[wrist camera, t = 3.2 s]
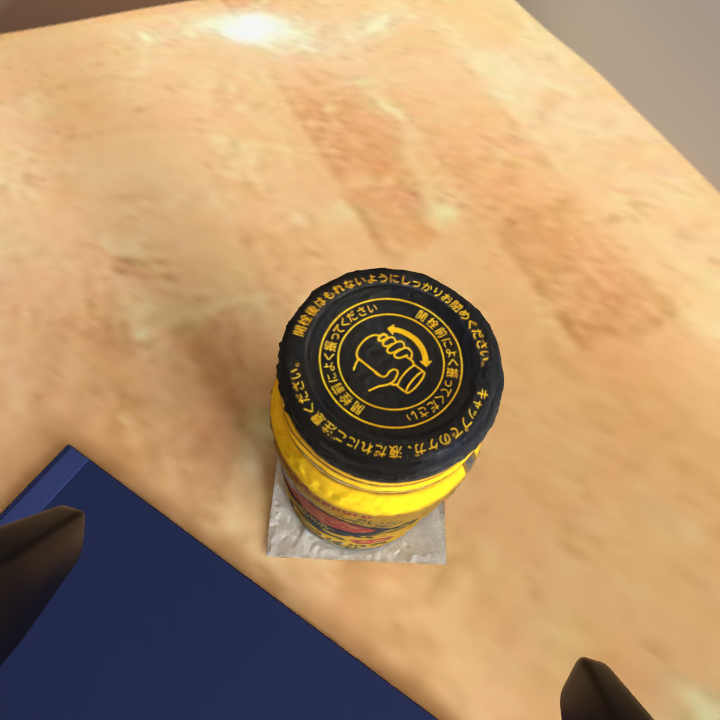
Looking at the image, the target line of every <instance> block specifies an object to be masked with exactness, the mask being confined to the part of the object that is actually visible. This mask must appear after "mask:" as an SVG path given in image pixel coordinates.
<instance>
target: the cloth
mask: <svg viewBox="0 0 720 720" xmlns="http://www.w3.org/2000/svg"><path fill="white" fill-rule="evenodd" d="M61 505H63V506H68V507H71V508H75V509H78V510H81V511H82V512H83V513H84V515H85V525H84V539H83V549H82V552H81V555H80V557H79V559H78V561H77V563H76V564H75V565H74V567H73V568H72V570H71V571H70V573H69V574H68V576H67V577H66V578H65V580H64V581H63V583H62V584H61V586H60V587H59V588H58V590H57V591H56V593H55V594H54V596H53V597H52V599H51V600H50V601H49V603H48V604H47V606H46V607H45V609H44V610H43V611H42V613H41V614H40V616H39V617H38V619H37V620H36V622H35V623H34V624H33V626H32V627H31V629H30V630H29V631H28V633H27V634H26V635H25V637H24V638H23V640H22V641H21V642H20V643H19V645H18V646H17V647H16V648H15V650H14V651H13V652H12V653H11V655H10V656H9V657H8V658H7V659H6V661H5V662H4V663H3V664H2V665H1V667H0V720H438V719H437V718H435V717H434V716H433V715H431V714H430V713H429V712H427V711H426V710H425V709H423V708H422V707H420V706H419V705H418V704H416V703H415V702H414V701H412V700H411V699H410V698H408V697H407V696H406V695H404V694H403V693H402V692H400V691H399V690H398V689H396V688H395V687H394V686H392V685H391V684H390V683H388V682H387V681H386V680H384V679H383V678H382V677H380V676H379V675H378V674H376V673H375V672H374V671H372V670H371V669H370V668H368V667H367V666H366V665H364V664H363V663H362V662H360V661H359V660H358V659H356V658H355V657H354V656H352V655H351V654H349V653H348V652H347V651H345V650H344V649H343V648H341V647H340V646H339V645H337V644H336V643H335V642H333V641H332V640H331V639H329V638H328V637H327V636H325V635H324V634H323V633H321V632H320V631H319V630H317V629H316V628H315V627H313V626H312V625H311V624H309V623H308V622H307V621H305V620H304V619H303V618H301V617H300V616H299V615H297V614H296V613H295V612H293V611H292V610H291V609H289V608H288V607H287V606H285V605H284V604H283V603H281V602H280V601H278V600H277V599H276V598H274V597H273V596H272V595H270V594H269V593H268V592H266V591H265V590H264V589H262V588H261V587H260V586H258V585H257V584H256V583H254V582H253V581H252V580H250V579H249V578H248V577H246V576H245V575H244V574H242V573H241V572H240V571H238V570H237V569H236V568H234V567H233V566H232V565H230V564H229V563H228V562H226V561H225V560H224V559H222V558H221V557H220V556H218V555H217V554H216V553H214V552H213V551H211V550H210V549H209V548H207V547H206V546H205V545H203V544H202V543H201V542H199V541H198V540H197V539H195V538H194V537H193V536H191V535H190V534H189V533H187V532H186V531H185V530H183V529H182V528H181V527H179V526H178V525H177V524H175V523H174V522H173V521H171V520H170V519H169V518H167V517H166V516H165V515H163V514H162V513H161V512H159V511H158V510H157V509H155V508H154V507H153V506H151V505H150V504H149V503H147V502H146V501H145V500H143V499H142V498H140V497H139V496H138V495H136V494H135V493H134V492H132V491H131V490H130V489H128V488H127V487H126V486H124V485H123V484H122V483H120V482H119V481H118V480H116V479H115V478H114V477H112V476H111V475H110V474H108V473H107V472H106V471H104V470H103V469H102V468H100V467H99V466H98V465H96V464H95V463H94V462H92V461H91V460H90V459H88V458H87V457H86V456H84V455H83V454H82V453H80V452H79V451H78V450H76V449H75V448H74V447H72V446H71V445H67V446H66V447H65V448H64V449H63V450H62V451H61V452H60V453H59V454H58V455H57V456H56V457H55V458H54V459H53V461H52V462H51V463H50V464H49V465H48V466H47V467H46V468H45V469H44V470H43V471H42V472H41V473H40V474H39V475H38V476H37V477H36V478H35V479H34V480H33V481H32V482H31V483H30V484H29V485H28V486H27V487H26V488H25V489H24V490H23V491H22V493H21V494H20V495H19V496H18V497H17V498H16V499H15V500H14V501H13V502H12V503H11V504H10V505H9V506H8V507H7V508H6V509H5V510H4V511H3V512H2V513H1V514H0V526H3V525H6V524H9V523H11V522H14V521H17V520H20V519H23V518H25V517H28V516H31V515H34V514H37V513H40V512H42V511H45V510H48V509H51V508H54V507H57V506H61Z"/></svg>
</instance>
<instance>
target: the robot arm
mask: <svg viewBox="0 0 720 720" xmlns="http://www.w3.org/2000/svg"><path fill="white" fill-rule="evenodd" d="M84 525H85V515H84V513H83V512H82V511H81V510H78V509H75V508H71V507H68V506H63V505H61V506H57V507H54V508H51V509H48V510H45V511H42V512H40V513H37V514H34V515H31V516H28V517H25V518H23V519H20V520H17V521H14V522H11V523H9V524H6V525H3V526H0V667H1V665H2V664H3V663H4V662H5V661H6V659H7V658H8V657H9V656H10V655H11V653H12V652H13V651H14V650H15V648H16V647H17V646H18V645H19V643H20V642H21V641H22V640H23V638H24V637H25V635H26V634H27V633H28V631H29V630H30V629H31V627H32V626H33V624H34V623H35V622H36V620H37V619H38V617H39V616H40V614H41V613H42V611H43V610H44V609H45V607H46V606H47V604H48V603H49V601H50V600H51V599H52V597H53V596H54V594H55V593H56V591H57V590H58V588H59V587H60V586H61V584H62V583H63V581H64V580H65V578H66V577H67V576H68V574H69V573H70V571H71V570H72V568H73V567H74V565H75V564H76V563H77V561H78V559H79V557H80V555H81V552H82V549H83V539H84ZM560 708H561V718H562V720H654V719H653V718H652V717H651V715H650V714H649V713H648V712H647V711H646V710H645V708H644V707H643V706H642V705H641V704H640V703H639V701H638V700H637V699H636V698H635V697H634V696H633V695H632V693H631V692H630V691H629V690H628V689H627V688H626V686H625V685H624V684H623V683H622V682H621V681H620V679H619V678H618V677H617V676H616V675H615V674H614V672H613V671H612V670H611V669H610V668H609V667H608V666H607V665H606V664H604V663H602V662H599V661H596V660H593V659H589V658H586V657H581V658H580V659H578V660H577V662H576V663H575V665H574V667H573V669H572V671H571V673H570V675H569V677H568V679H567V681H566V683H565V685H564V687H563V689H562V692H561V697H560Z"/></svg>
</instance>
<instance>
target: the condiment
mask: <svg viewBox="0 0 720 720" xmlns="http://www.w3.org/2000/svg"><path fill="white" fill-rule="evenodd" d="M279 347H280V350H279V353H278V358H279V362H278V364H277V366H276V368H277V374H276V379H275V381H274V384H273V388H272V391H271V394H272V395H271V405H270V427H271V429H272V432H273V435H274V444H275V446H276V452H277V462H276V471H275V480H274V489H273V498H272V507H271V515H270V524H269V533H268V542H267V550H266V556H273V557H294V558H313V559H333V560H354V561H376V562H399V563H422V564H443V565H446V541H445V519H444V500H446V499H447V498H448V497H449V496H450V495H451V494H453V493H454V491H455V489H456V488H457V487H458V486H459V484H460V483H461V482H462V480H463V479H464V478H465V477H466V475H467V473H468V472H469V471H470V470H471V467H472V465H473V464H474V462H475V460H476V458H477V456H478V454H479V451H480V446H481V444H482V441H483V439H484V437H485V436H486V434H487V432H488V430H489V429H490V428H491V427H492V425H493V423H494V421H495V418H496V415H497V413H498V408H499V405H500V400H501V395H502V391H503V387H504V375H503V369H502V365H501V356H500V351H499V347H498V343H497V340H496V338H495V336H494V334H493V331H492V329H491V327H490V324H489V323H488V322H487V321H486V319H485V318H484V317H483V315H482V314H481V312H480V311H479V310H478V309H476V308H475V307H474V306H473V305H472V304H471V303H470V302H468V301H467V300H465V299H464V298H463V297H462V296H460V295H459V294H458V293H456V292H455V291H454V290H452V289H450V288H449V287H447V286H445V285H443V284H441V283H440V282H438V281H436V280H435V279H433V278H431V277H429V276H427V275H425V274H422V273H417V272H411V271H406V270H394V269H388V268H375V269H367V270H356V271H354V272H349V273H346V274H344V275H342V276H340V277H339V278H337V279H334V280H332V281H330V282H328V283H326V284H324V285H322V286H320V287H318V288H317V289H315V290H314V291H312V292H311V294H310V296H309V297H308V298H307V299H306V301H305V302H304V303H303V304H302V305H301V306H300V307H299V308H298V310H297V312H296V313H295V315H294V316H293V317H292V319H291V320H290V321H289V322H288V324H287V325H286V330H285V333H284V336H283V338H282V341H281V342H280V343H279Z"/></svg>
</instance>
